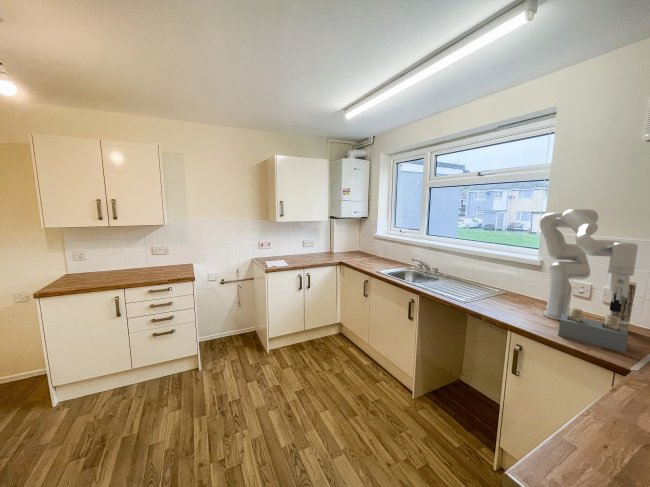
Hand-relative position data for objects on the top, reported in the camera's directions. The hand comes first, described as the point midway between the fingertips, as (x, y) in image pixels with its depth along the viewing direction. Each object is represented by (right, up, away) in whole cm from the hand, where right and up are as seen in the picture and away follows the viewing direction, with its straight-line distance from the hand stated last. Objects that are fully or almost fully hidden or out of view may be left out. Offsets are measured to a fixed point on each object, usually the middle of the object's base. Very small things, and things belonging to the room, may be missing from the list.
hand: (614, 311), depth 121 cm
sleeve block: (-5, -15, +7) cm, 17 cm away
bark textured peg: (+22, -14, +19) cm, 32 cm away
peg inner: (-9, -9, +10) cm, 16 cm away
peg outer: (0, -11, +2) cm, 11 cm away
